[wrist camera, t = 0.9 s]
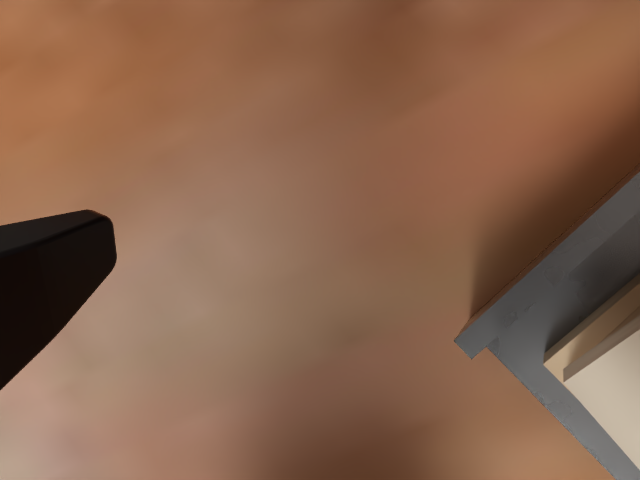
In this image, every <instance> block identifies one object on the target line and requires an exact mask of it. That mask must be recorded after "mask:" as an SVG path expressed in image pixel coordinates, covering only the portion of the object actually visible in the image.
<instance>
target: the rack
mask: <svg viewBox="0 0 640 480" xmlns="http://www.w3.org/2000/svg"><path fill="white" fill-rule="evenodd" d="M639 273H640V164H638V165H637V166H636V167H635V168H634V169H633V170H632V171H631V172H630V173H629V174H628V175H626V176H625V177H624V178H623V179H622V180H621V181H620V182H619V183H618V184H617V185H616V186H614V187H613V188H612V189H611V190H610V191H609V192H608V193H607V194H606V195H605V196H604V197H602V198H601V199H600V200H599V201H598V202H597V203H596V204H595V205H594V206H593V207H591V208H590V209H589V210H588V211H587V212H586V213H585V214H584V215H583V216H582V217H581V218H579V219H578V220H577V221H576V222H575V223H574V224H573V225H572V226H571V227H570V228H569V229H567V230H566V231H565V232H564V233H563V234H562V235H561V236H560V237H559V238H558V239H557V240H555V241H554V242H553V243H552V244H551V245H550V246H549V247H548V248H547V249H546V250H544V251H543V252H542V253H541V254H540V255H539V256H538V257H537V258H536V259H535V260H534V261H532V262H531V263H530V264H529V265H528V266H527V267H526V268H525V269H524V270H523V271H522V272H520V273H519V274H518V275H517V276H516V277H515V278H514V279H513V280H512V281H511V282H510V283H508V284H507V285H506V286H505V287H504V288H503V289H502V290H501V291H500V292H499V293H497V294H496V295H495V296H494V297H493V298H492V299H491V300H490V301H489V302H488V303H487V304H485V305H484V306H483V307H482V308H481V309H480V310H479V311H478V312H477V313H476V314H475V315H473V316H472V317H471V318H470V319H469V320H468V322H467V323H466V324H465V326H464V327H463V329H462V330H461V331H460V333H459V334H458V336H457V337H456V338H455V340H454V342H455V343H456V344H457V345H458V346H459V347H460V348H461V349H462V350H463V351H464V352H465V353H466V354H467V355H468V356H469V357H470V358H471V359H473V358H474V357H475V356H476V355H477V354H478V353H479V352H481V351H482V350H483V349H484V348H485V347H487V348H488V349H489V350H490V351H491V352H492V353H493V354H494V355H495V356H496V357H497V358H498V359H499V360H500V361H501V362H502V363H503V364H504V365H505V366H506V367H507V368H508V369H509V370H510V371H511V372H512V373H513V374H514V375H515V376H516V377H517V378H518V379H519V381H520V382H521V383H522V384H523V385H524V386H525V387H526V388H527V389H528V390H529V391H530V392H531V393H532V394H533V395H534V396H535V397H536V398H537V399H538V400H539V401H540V402H541V403H542V404H543V405H544V406H545V407H546V408H547V409H548V410H549V411H550V412H551V413H552V414H553V415H554V416H555V417H556V418H557V419H558V421H559V422H560V423H561V424H562V425H563V426H564V427H565V428H566V429H567V430H568V431H569V432H570V433H571V434H572V435H573V436H574V437H575V438H576V439H577V440H578V441H579V442H580V443H581V444H582V445H583V446H584V447H585V448H586V449H587V450H588V451H589V452H590V453H591V454H592V455H593V456H594V457H595V458H596V459H597V461H598V462H599V463H600V464H601V465H602V466H603V467H604V468H605V469H606V470H607V471H608V472H609V473H610V474H611V475H612V476H613V477H614V478H615V479H616V480H640V470H639V469H638V468H637V466H636V465H635V464H634V463H633V462H632V461H631V460H630V458H629V457H628V456H627V455H626V454H625V453H624V452H623V450H622V449H621V448H620V447H619V446H618V445H617V444H616V442H615V441H614V440H613V439H612V438H611V437H610V436H609V434H608V433H607V432H606V431H605V430H604V429H603V428H602V426H601V425H600V424H599V423H598V422H597V421H596V420H595V418H594V417H593V416H592V415H591V414H590V413H589V411H588V410H587V409H586V408H585V407H584V406H583V405H582V403H581V402H580V401H579V400H578V399H577V398H576V397H575V396H574V395H573V394H572V393H571V392H570V391H569V390H568V389H567V388H566V387H565V386H564V385H563V384H562V383H561V382H560V381H559V380H558V379H557V378H556V377H555V376H554V375H553V374H552V373H551V372H550V371H549V370H548V369H547V368H546V367H545V366H544V365H543V359H544V353H545V352H547V351H548V350H549V349H550V348H551V347H553V346H554V345H555V344H556V343H557V342H559V341H560V340H561V339H562V338H563V337H564V336H566V335H567V334H568V333H569V332H570V331H572V330H573V329H574V328H575V327H576V326H577V325H579V324H580V323H581V322H582V321H583V320H585V319H586V318H587V317H588V316H589V315H590V314H592V313H593V312H594V311H595V310H596V309H598V308H599V307H600V306H601V305H602V304H604V303H605V302H606V301H607V300H608V299H609V298H611V297H612V296H613V295H614V294H615V293H617V292H618V291H619V290H620V289H621V288H622V287H624V286H625V285H626V284H627V283H628V282H630V281H631V280H632V279H633V278H634V277H635V276H637V275H638V274H639Z"/></svg>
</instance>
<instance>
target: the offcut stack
mask: <svg viewBox="0 0 640 480" xmlns="http://www.w3.org/2000/svg"><path fill="white" fill-rule="evenodd" d="M543 365H544V366H545V367H546V368H547V369H548V370H549V371H550V372H551V373H552V374H553V375H554V376H555V377H556V378H557V379H558V380H559V381H560V382H561V383H562V384H563V385H564V386H565V387H566V388H567V389H568V390H569V391H570V392H571V393H572V394H573V395H574V396H575V397H576V398H577V399H578V400H579V401H580V402H581V403H582V405H583V406H584V407H585V408H586V409H587V410H588V411H589V413H590V414H591V415H592V416H593V417H594V418H595V420H596V421H597V422H598V423H599V424H600V425H601V426H602V428H603V429H604V430H605V431H606V432H607V433H608V434H609V436H610V437H611V438H612V439H613V440H614V441H615V442H616V444H617V445H618V446H619V447H620V448H621V449H622V450H623V452H624V453H625V454H626V455H627V456H628V457H629V458H630V460H631V461H632V462H633V463H634V464H635V465H636V466H637V468H638V469H639V470H640V273H639V274H638V275H637V276H635V277H634V278H633V279H632V280H631V281H630V282H628V283H627V284H626V285H625V286H624V287H622V288H621V289H620V290H619V291H618V292H617V293H615V294H614V295H613V296H612V297H611V298H609V299H608V300H607V301H606V302H605V303H604V304H602V305H601V306H600V307H599V308H598V309H596V310H595V311H594V312H593V313H592V314H590V315H589V316H588V317H587V318H586V319H585V320H583V321H582V322H581V323H580V324H579V325H577V326H576V327H575V328H574V329H573V330H572V331H570V332H569V333H568V334H567V335H566V336H564V337H563V338H562V339H561V340H560V341H559V342H557V343H556V344H555V345H554V346H553V347H551V348H550V349H549V350H548V351H547V352H545V353H544V359H543Z"/></svg>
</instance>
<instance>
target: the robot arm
mask: <svg viewBox="0 0 640 480" xmlns="http://www.w3.org/2000/svg"><path fill="white" fill-rule="evenodd" d="M116 259H117V253H116V245H115V236H114V228H113V223H112V221H111V220H110V218H108V217H107V216H105V215H102V214H100V213H98V212H95V211H93V210H81V211H76V212H71V213H65V214H60V215H55V216H49V217H44V218H39V219H34V220H28V221H23V222H18V223H12V224H7V225H2V226H0V390H1V389H2V388H3V387H4V386H5V385H6V384H7V383H8V382H9V381H11V380H12V379H13V378H14V377H15V376H16V375H17V374H18V373H19V372H20V371H21V370H22V369H23V368H24V367H25V366H26V365H27V364H28V363H29V362H30V361H31V360H32V359H33V358H34V357H35V356H36V355H37V354H38V353H39V352H40V351H41V350H43V349H44V348H45V347H46V346H47V345H48V344H49V343H50V342H51V341H52V340H53V339H54V337H55V336H56V335H57V334H58V333H59V332H60V331H61V330H62V329H63V328H64V326H65V325H66V324H67V323H68V322H69V321H70V319H71V318H72V317H73V316H74V315H75V314H76V312H77V311H78V310H79V309H80V308H81V307H82V305H83V304H84V303H85V302H86V301H87V299H88V298H89V297H90V296H91V295H92V294H93V292H94V291H95V290H96V289H97V288H98V287H99V285H100V284H101V283H102V282H103V281H104V279H105V278H106V277H107V276H108V275H109V274H110V272H111V271H112V270H113V268H114V266H115V263H116Z"/></svg>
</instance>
